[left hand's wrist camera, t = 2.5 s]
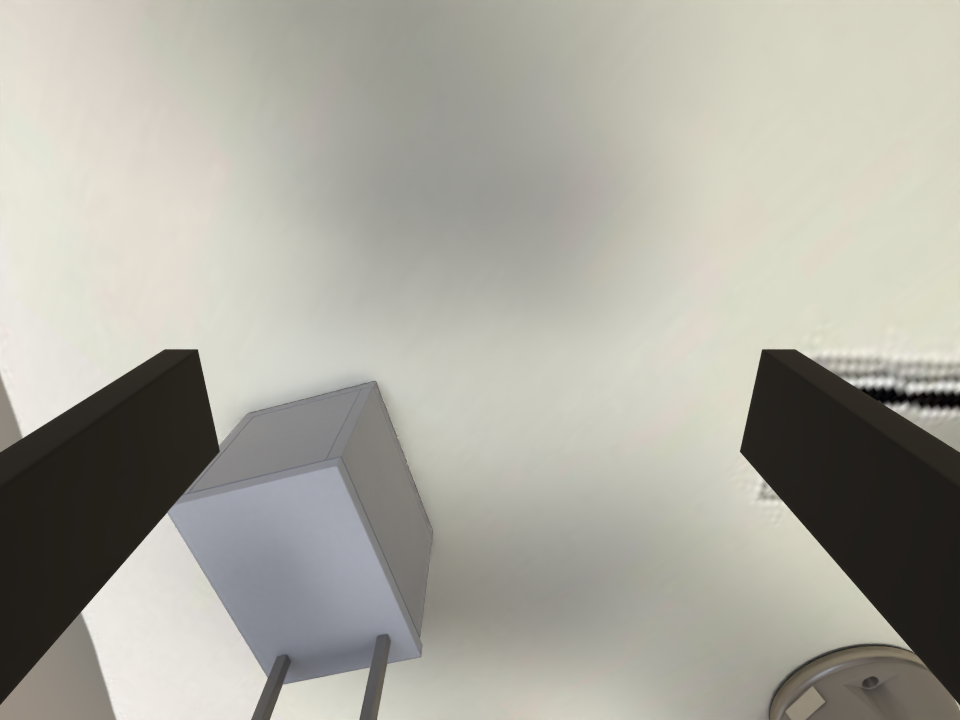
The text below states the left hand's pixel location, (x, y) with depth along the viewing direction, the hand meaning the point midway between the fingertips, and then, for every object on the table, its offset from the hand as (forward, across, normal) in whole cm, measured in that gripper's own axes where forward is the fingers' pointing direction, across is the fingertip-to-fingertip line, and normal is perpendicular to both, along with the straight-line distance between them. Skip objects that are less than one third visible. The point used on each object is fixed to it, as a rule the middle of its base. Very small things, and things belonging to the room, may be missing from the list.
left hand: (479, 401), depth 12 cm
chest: (+22, -10, -17) cm, 30 cm away
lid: (+12, -10, -18) cm, 24 cm away
